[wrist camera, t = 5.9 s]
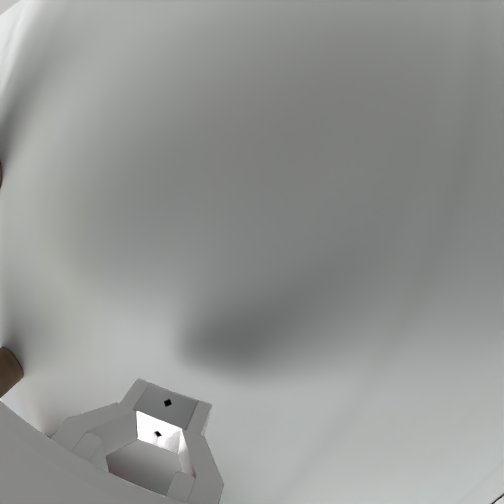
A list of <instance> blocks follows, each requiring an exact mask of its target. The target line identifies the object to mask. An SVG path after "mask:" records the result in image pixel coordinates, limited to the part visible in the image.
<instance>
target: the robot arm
mask: <svg viewBox="0 0 504 504" xmlns="http://www.w3.org/2000/svg"><path fill="white" fill-rule="evenodd" d="M211 408H212V404H209V403H206V402H203V401H200V400H197V399H194V398H191V397H188V396H185V395H182V394H179V393H176V392H172V391H169V390H167V389H164V388H162V387H159V386H157V385H155V384H152V383H149V382H147V381H145V380H142V379H140V378H139V379H138V380H136V381H135V383H134V384H133V386H132V387H131V388H130V390H129V391H128V393H127V394H126V395H125V397H124V398H123V400H122V401H121V402H120V404H119V403H113V404H110V405H107V406H104V407H101V408H98V409H95V410H92V411H89V412H86V413H83V414H80V415H76V416H73V417H70V418H67V419H66V420H65V422H64V423H63V424H62V425H61V426H60V428H59V429H58V430H57V431H56V432H55V434H54V435H53V436H52V437H51V438H49V437H47V436H46V435H44V434H43V433H41V432H40V431H39V430H37V429H36V428H34V427H33V426H32V425H30V424H29V423H27V422H26V421H25V420H23V419H22V418H21V417H20V416H18V415H17V414H16V413H14V412H13V411H12V410H11V409H10V408H8V407H7V406H6V405H5V404H4V403H2V402H1V401H0V504H219V501H220V497H221V493H222V489H223V486H224V483H223V480H222V478H221V476H220V473H219V471H218V469H217V466H216V464H215V461H214V459H213V457H212V454H211V452H210V449H209V447H208V444H207V441H206V439H205V436H204V434H205V430H206V427H207V423H208V420H209V416H210V412H211ZM137 438H138V439H140V440H143V441H145V442H148V443H150V444H153V445H156V446H158V447H161V448H163V449H166V450H168V451H171V452H174V453H176V454H178V457H179V461H180V464H181V468H182V472H177V473H175V475H174V478H173V480H172V482H171V485H170V487H169V489H168V491H167V494H166V496H164V495H161V494H158V493H155V492H153V491H150V490H148V489H145V488H143V487H140V486H138V485H136V484H133V483H131V482H129V481H126V480H124V479H122V478H120V477H118V476H116V475H114V474H112V473H109V469H108V465H107V461H106V457H105V456H106V455H108V454H110V453H112V452H114V451H116V450H118V449H120V448H122V447H124V446H126V445H128V444H130V443H132V442H133V441H135V440H137ZM494 504H504V496H503V497H502V498H500V499H499V500H498V501H496V502H495V503H494Z"/></svg>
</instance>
